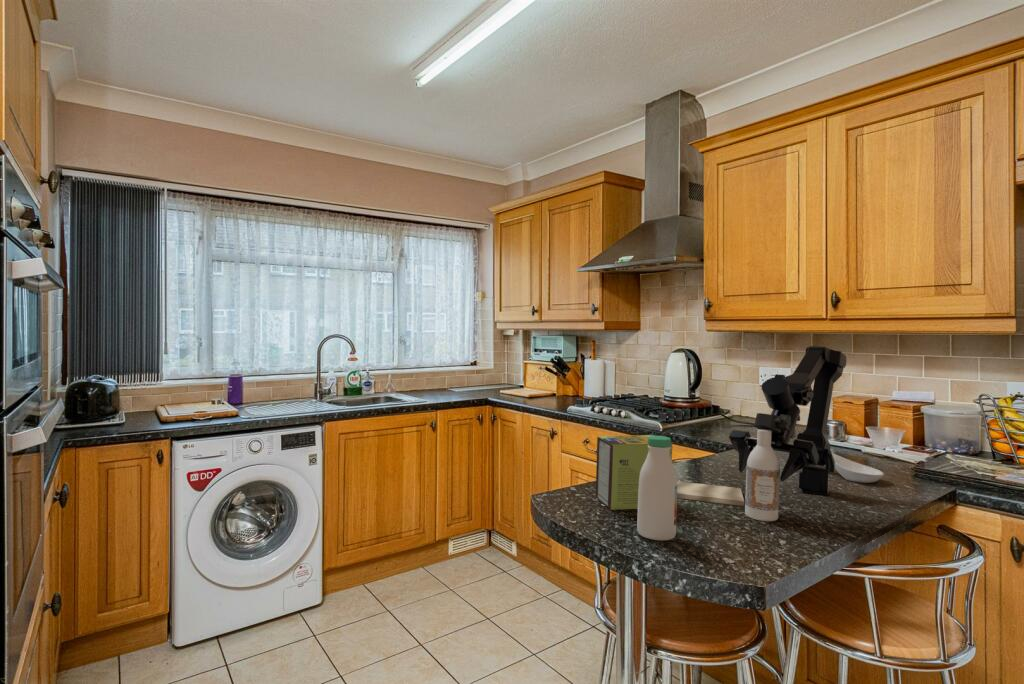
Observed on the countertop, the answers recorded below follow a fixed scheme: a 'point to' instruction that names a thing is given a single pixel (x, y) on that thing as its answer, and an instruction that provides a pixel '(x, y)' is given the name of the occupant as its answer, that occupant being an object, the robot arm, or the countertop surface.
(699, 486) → the birch board
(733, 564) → the countertop surface
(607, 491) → the protein box
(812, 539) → the countertop surface
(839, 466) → the spoon rest
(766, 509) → the bath foam
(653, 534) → the milk bottle
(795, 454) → the robot arm
